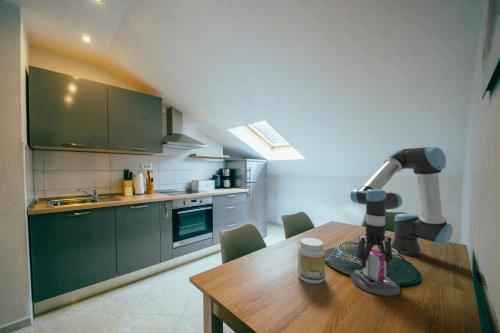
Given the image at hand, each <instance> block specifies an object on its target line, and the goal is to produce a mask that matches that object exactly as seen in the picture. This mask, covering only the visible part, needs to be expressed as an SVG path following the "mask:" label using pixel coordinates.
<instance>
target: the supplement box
mask: <svg viewBox="0 0 500 333" xmlns="http://www.w3.org/2000/svg"><path fill="white" fill-rule="evenodd" d="M367 261H368V276H365V275H364V277H366V278H368V279H370V280H372V281H374V282H379V281H382V280H384V267H385V255H384V254H382V253H380V251H376V250H374V249H371V251H370V253H369V256H368V258H367Z"/></svg>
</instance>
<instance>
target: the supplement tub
mask: <svg viewBox="0 0 500 333" xmlns="http://www.w3.org/2000/svg"><path fill="white" fill-rule="evenodd" d="M324 246H325V245H324V242H323V240H320V239H318V238H313V237H303V238H301V239H300V243H299V246H298V249H297V253H298V254H297V257H298V258H297V275H298V277H299V278H300V280H302V281H304V282H305V283H308V284H320V283H322V282H324V281H325V278H326V250H325V248H324Z"/></svg>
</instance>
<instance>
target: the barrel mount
mask: <svg viewBox="0 0 500 333" xmlns="http://www.w3.org/2000/svg"><path fill="white" fill-rule="evenodd" d="M350 281H351V282H352V284H354V285H355V286H356V287H357V288H359V289H360V290H362V291H364V292H366V293H369V294H372V295H375V296H379V297H387V298H390V297H392V298H393V297H397V296H398V295H400V293H401V287H400V285H399V283H397V281H395V280H394V279H393V278H391V277H389V276H388V275H386V276H384V280H382V282H374V281H372V280H370V279H368V278H366V277H364V274H363V269H362V270H361V269H355V270H354V271H353V272H351V273H350ZM396 283H397V284H396Z"/></svg>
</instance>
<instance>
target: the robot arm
mask: <svg viewBox="0 0 500 333" xmlns="http://www.w3.org/2000/svg"><path fill="white" fill-rule="evenodd" d="M446 163H447V159H446V154H445V152H444V151H443V150H442V149H441V148H439V147H436V146H435V147H431V146H427V147H413V148H412V147H410V148H403V149H400V150H398V151H396V152H394V153H392V154H391V155H390V156H388V157H387V158H386V159H385V160H384V161H383V164H382V165H381V167H380V168H379V169H377V171H376V172H375V173H374V174H373V175H371V177H370V178H369V179H368V180H367V181H366V182H365V183H364V184H363V185H362V186H361V187H360V188H354V189H352V190H351V192H350V196H349V197H350V200H351V201H352V203H355V204H358V205H363V206H364V205H365V235H363V236H362V235H359V236H358V240H359V242H358V248H357V254H356V257H357V258H358V259H359V260H360V261H361V267H362V270H363V274H364V275H365V276H368V261H367V258H368V256H369V253H370V251H371V250H372V248H374V246H377V247H378V250H379V253H382V254H384V255H385V267H384V276H387V268H389V267H388V266H389V265H388V264H389V263H390V261H391V260H393V250H392V249H391V247H392V248H394V249H396V250H397V251H398V252H399V253H398V252H397V253H398V254H401V255H405V256H412V257H418V256H419V257H420V256H421V255H422V249H421V245H420V243H419V241H418V240H419V239H420V240H424V241H429V242H432V243H435V244H441V245H446V244H447V243H449V241H450V239H451V237H452V235H453V230H454V229H453V225H452V224H451V223H448V221H447V218H446V217H445V216H443V210H442V201H441V193H440V192H441V190H440V181H439V174H441V173H442V170H444V169H445V168H446V166H447V164H446ZM405 169H406V170H407V169H409V170H410V169H411V170H412V171H413V174H415V175H416V176H417V183H418V191H419V201H420V211H421V215H420V216H419V215H418V214H413V213H398V214H395V215H394V235H393V236H394V237H393V239H392V237H390V236H388V235H385V234H386V226H385V225H386V212H387V210H395V209H398V208H400V207H401V206H402V205H403V199H402V197H401V195H400V194H399V193H397V192H391V191H390V192H386V191H385V190H384V189H383V188H384V187H385V185H387V183H388V182H390V180H391V179H392V177H393V176H395V174H397V173H399V172H401V171H402V170H405Z"/></svg>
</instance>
